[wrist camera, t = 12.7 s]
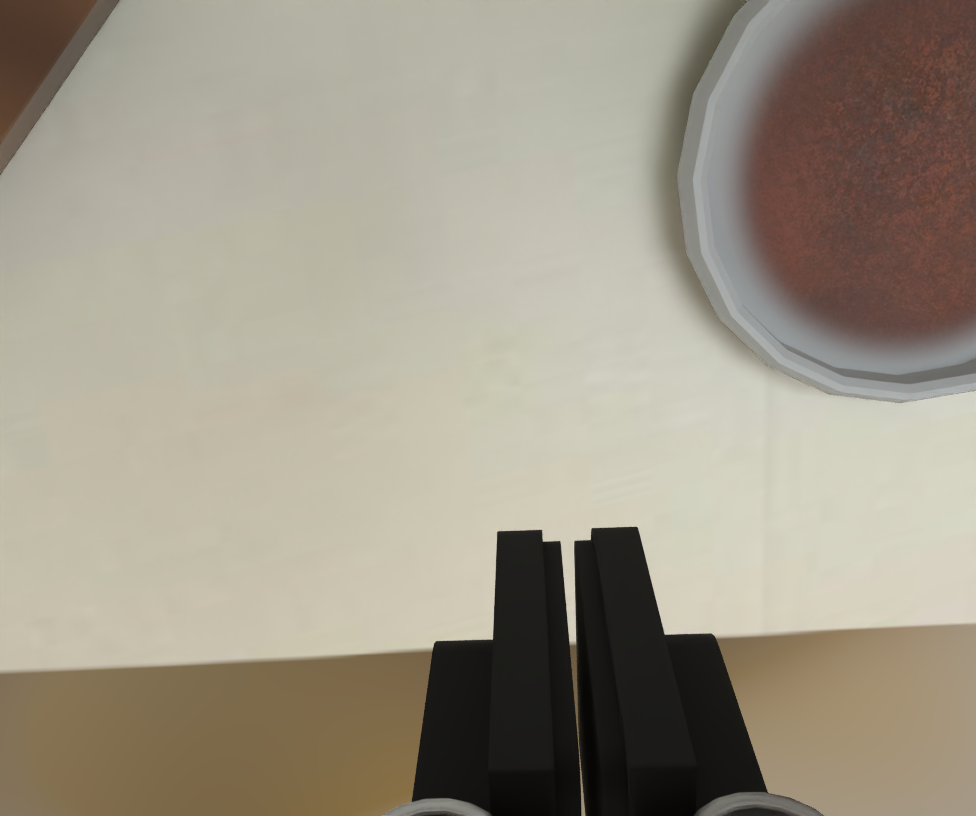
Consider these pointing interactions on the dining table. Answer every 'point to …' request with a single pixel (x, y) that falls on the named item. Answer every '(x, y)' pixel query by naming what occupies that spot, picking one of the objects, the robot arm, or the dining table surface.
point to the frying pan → (841, 192)
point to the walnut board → (39, 58)
